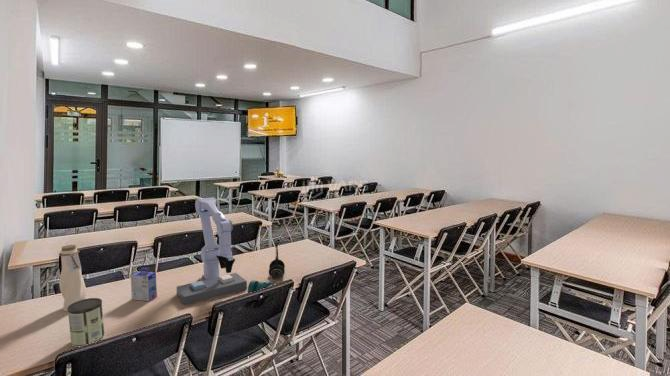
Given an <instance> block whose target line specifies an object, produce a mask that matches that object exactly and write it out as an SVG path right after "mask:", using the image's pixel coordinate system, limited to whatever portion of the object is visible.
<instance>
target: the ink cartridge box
mask: <svg viewBox="0 0 670 376" xmlns="http://www.w3.org/2000/svg"><path fill="white" fill-rule="evenodd" d="M130 286H131V287H130V289H131V300H135V301H137V300H138V301H144V302H149V301H153V300H155V299H156V298H157V297H158V293H157V292H158V291H157V289H158V288H157V272H153V271H149V267H145V266H143V267H141V268H140V270H139V271H136V272H134V273H132V274H130Z"/></svg>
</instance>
